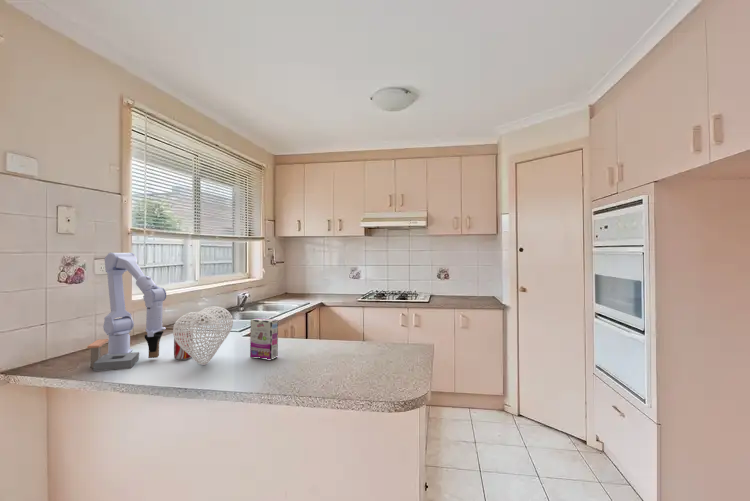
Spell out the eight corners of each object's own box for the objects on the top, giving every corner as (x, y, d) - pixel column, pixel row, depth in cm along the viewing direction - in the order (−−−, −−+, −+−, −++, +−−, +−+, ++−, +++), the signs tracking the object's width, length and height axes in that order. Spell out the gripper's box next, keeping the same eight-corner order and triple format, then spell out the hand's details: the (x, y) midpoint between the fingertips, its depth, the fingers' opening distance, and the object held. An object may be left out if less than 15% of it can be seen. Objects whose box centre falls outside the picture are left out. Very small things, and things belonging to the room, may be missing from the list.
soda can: (184, 361, 151) (185, 332, 151) (169, 360, 153) (170, 331, 153) (196, 356, 158) (196, 328, 158) (181, 355, 160) (182, 327, 160)
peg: (150, 356, 154) (150, 336, 154) (158, 355, 155) (159, 336, 155) (148, 358, 151) (148, 338, 151) (157, 357, 152) (157, 338, 152)
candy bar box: (278, 357, 158) (278, 319, 158) (270, 361, 154) (271, 321, 154) (257, 354, 163) (257, 317, 163) (249, 357, 158) (250, 319, 158)
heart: (203, 354, 162) (204, 303, 162) (238, 355, 161) (239, 304, 161) (163, 375, 134) (164, 314, 134) (204, 377, 133) (205, 315, 133)
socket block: (97, 362, 148) (97, 339, 148) (138, 359, 153) (139, 336, 153) (85, 371, 137) (86, 346, 137) (130, 368, 142) (131, 343, 142)
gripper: (162, 320, 147) (161, 354, 147) (168, 314, 161) (167, 345, 161) (141, 321, 145) (140, 355, 145) (149, 314, 158) (149, 346, 158)
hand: (153, 350), depth 153 cm, fingers closed on peg, 3 cm apart
